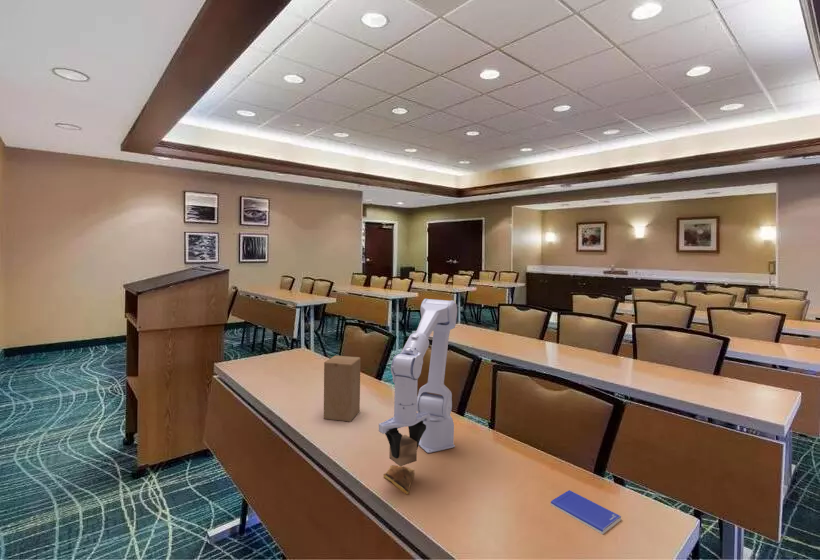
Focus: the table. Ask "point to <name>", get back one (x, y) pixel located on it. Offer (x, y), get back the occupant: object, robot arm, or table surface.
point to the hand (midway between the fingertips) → (404, 453)
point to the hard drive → (586, 511)
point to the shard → (400, 477)
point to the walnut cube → (406, 451)
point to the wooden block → (341, 388)
